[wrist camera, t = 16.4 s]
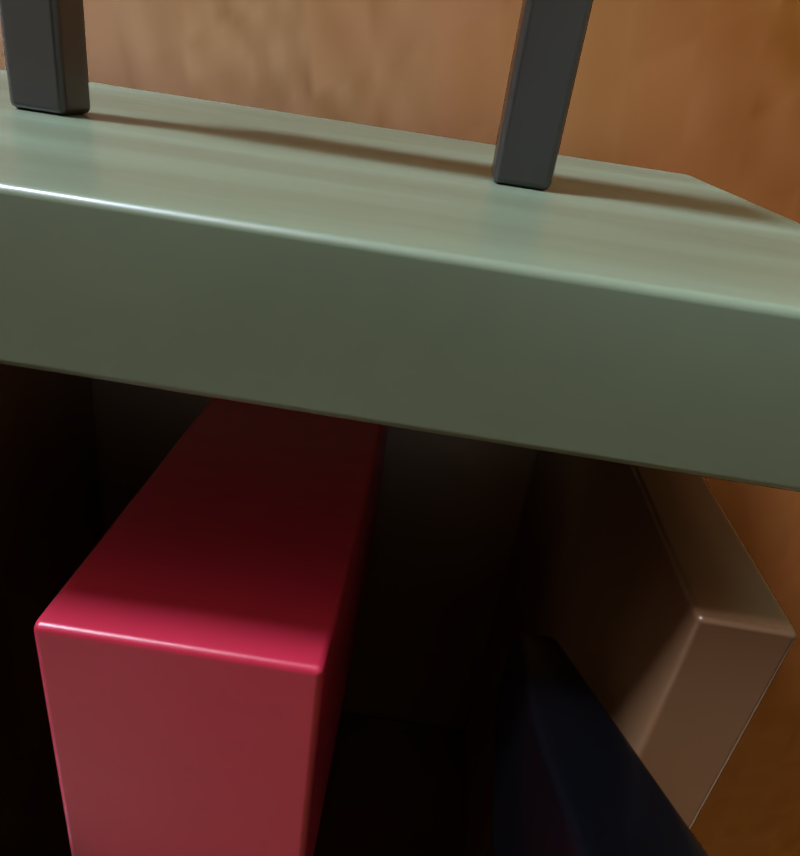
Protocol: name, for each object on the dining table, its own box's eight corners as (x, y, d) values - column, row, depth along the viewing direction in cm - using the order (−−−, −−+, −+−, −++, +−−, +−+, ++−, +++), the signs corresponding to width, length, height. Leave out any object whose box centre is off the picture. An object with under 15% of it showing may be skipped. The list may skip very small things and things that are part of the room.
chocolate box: (370, 565, 14) (296, 946, 8) (246, 546, 14) (77, 910, 8) (396, 365, 12) (325, 671, 6) (252, 344, 12) (29, 624, 6)
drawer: (-25, -270, 9) (-1763, -1505, 2) (792, -147, 9) (2037, -1000, 2) (80, 653, 18) (-194, 1063, 10) (515, 724, 18) (552, 1194, 10)
